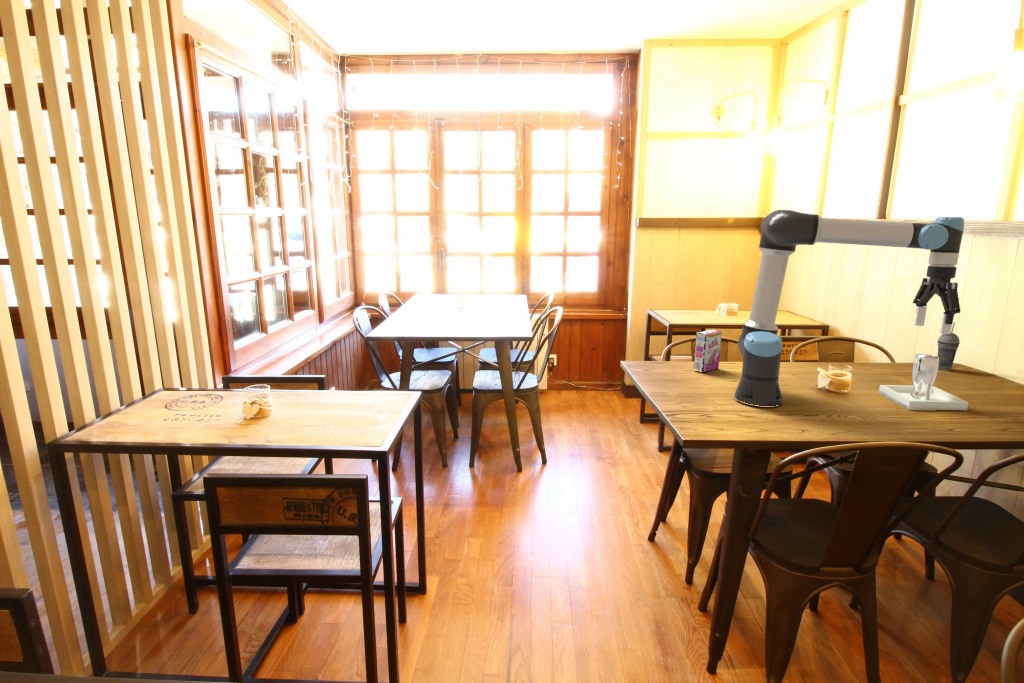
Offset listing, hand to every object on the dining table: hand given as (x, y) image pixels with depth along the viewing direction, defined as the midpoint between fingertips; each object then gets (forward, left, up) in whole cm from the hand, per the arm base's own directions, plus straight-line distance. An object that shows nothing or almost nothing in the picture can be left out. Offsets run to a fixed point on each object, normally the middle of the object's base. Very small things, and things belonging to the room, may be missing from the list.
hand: (931, 329), depth 187 cm
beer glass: (0, 0, -24) cm, 24 cm away
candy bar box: (-63, +36, -26) cm, 77 cm away
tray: (0, 0, -25) cm, 25 cm away
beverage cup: (+34, +43, -25) cm, 60 cm away
